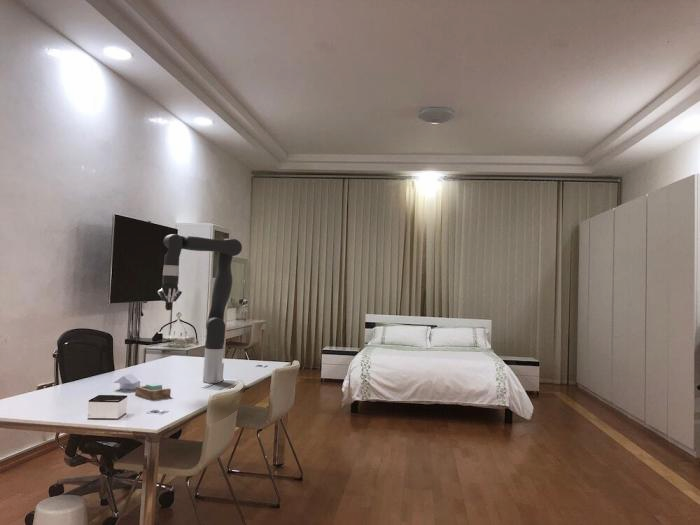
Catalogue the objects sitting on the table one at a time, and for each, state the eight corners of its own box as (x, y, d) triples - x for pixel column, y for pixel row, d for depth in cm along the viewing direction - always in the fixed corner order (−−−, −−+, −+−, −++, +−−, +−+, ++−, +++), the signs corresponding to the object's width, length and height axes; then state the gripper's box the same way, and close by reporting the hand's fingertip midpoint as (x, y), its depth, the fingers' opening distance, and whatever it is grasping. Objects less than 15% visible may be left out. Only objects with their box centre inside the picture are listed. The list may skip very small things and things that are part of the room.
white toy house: (132, 391, 256) (142, 386, 269) (133, 376, 256) (143, 372, 269) (112, 390, 256) (124, 385, 269) (113, 375, 256) (125, 371, 269)
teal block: (155, 394, 252) (156, 383, 252) (161, 396, 249) (162, 385, 249) (145, 395, 248) (146, 384, 248) (151, 397, 245) (152, 386, 245)
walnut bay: (154, 392, 255) (155, 384, 255) (170, 397, 248) (170, 388, 248) (135, 395, 248) (135, 386, 248) (150, 399, 240) (150, 391, 240)
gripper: (177, 275, 281) (175, 309, 281) (154, 273, 271) (152, 309, 270) (186, 275, 277) (184, 310, 276) (163, 274, 266) (160, 310, 266)
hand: (168, 310), depth 273 cm, fingers closed
